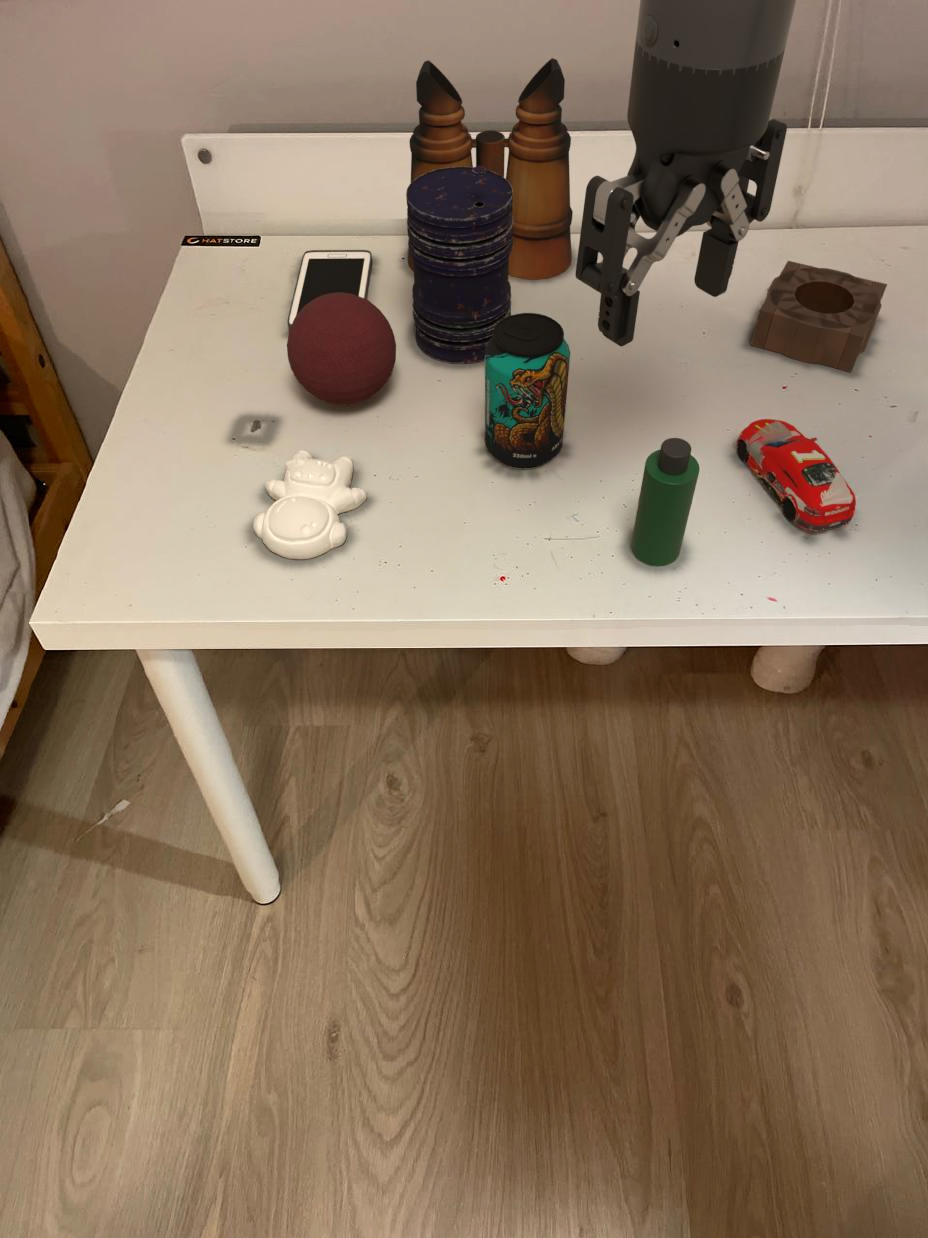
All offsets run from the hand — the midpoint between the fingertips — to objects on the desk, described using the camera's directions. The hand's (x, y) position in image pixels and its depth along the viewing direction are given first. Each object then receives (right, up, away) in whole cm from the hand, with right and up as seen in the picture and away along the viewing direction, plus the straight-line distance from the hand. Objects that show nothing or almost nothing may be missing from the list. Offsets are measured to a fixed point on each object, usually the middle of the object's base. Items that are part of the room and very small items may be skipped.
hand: (664, 313), depth 60 cm
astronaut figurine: (-26, -10, +20) cm, 34 cm away
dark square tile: (-32, -2, +27) cm, 42 cm away
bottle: (+3, -14, +17) cm, 22 cm away
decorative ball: (-24, +2, +30) cm, 38 cm away
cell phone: (-27, +15, +41) cm, 51 cm away
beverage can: (-7, -4, +25) cm, 26 cm away
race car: (+15, -8, +21) cm, 27 cm away
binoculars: (-10, +20, +45) cm, 50 cm away
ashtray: (+23, +10, +35) cm, 43 cm away
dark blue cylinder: (-13, +9, +36) cm, 39 cm away
